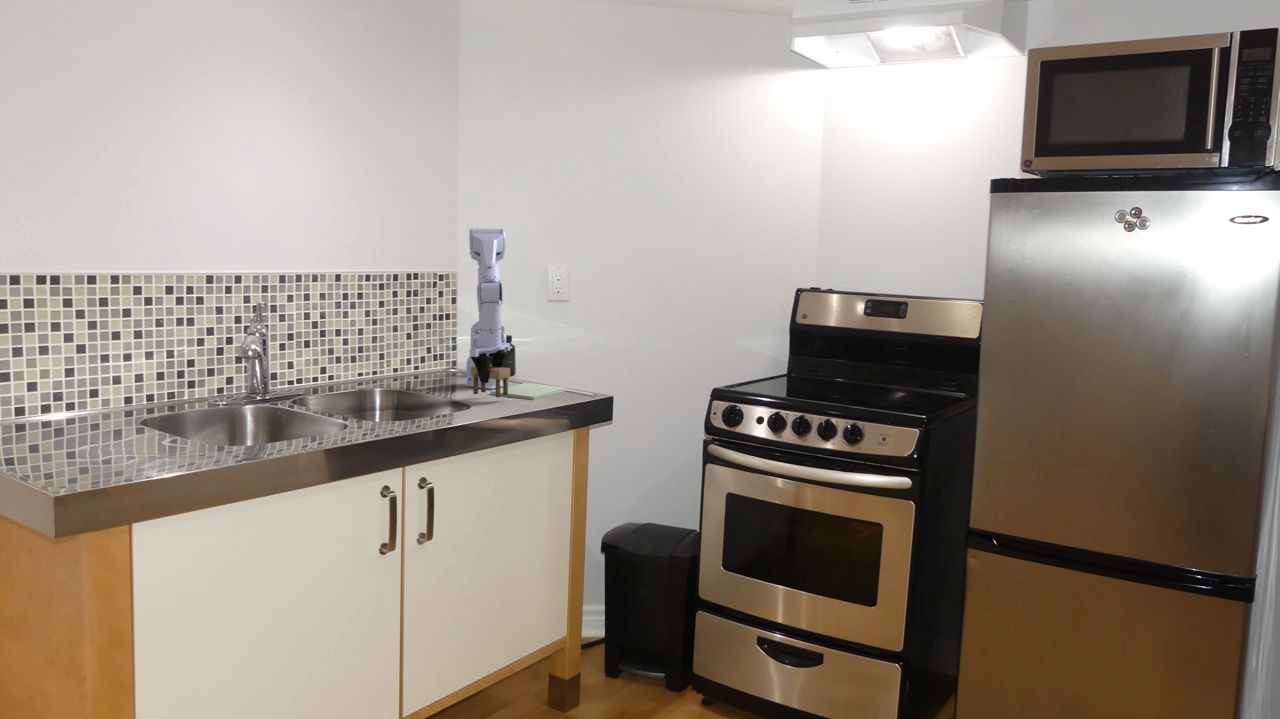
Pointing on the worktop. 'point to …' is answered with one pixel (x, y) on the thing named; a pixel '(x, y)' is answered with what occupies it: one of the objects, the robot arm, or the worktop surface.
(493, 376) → the walnut stool
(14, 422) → the worktop surface
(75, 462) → the worktop surface
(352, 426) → the worktop surface
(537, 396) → the sage board
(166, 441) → the worktop surface
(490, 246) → the robot arm
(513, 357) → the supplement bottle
